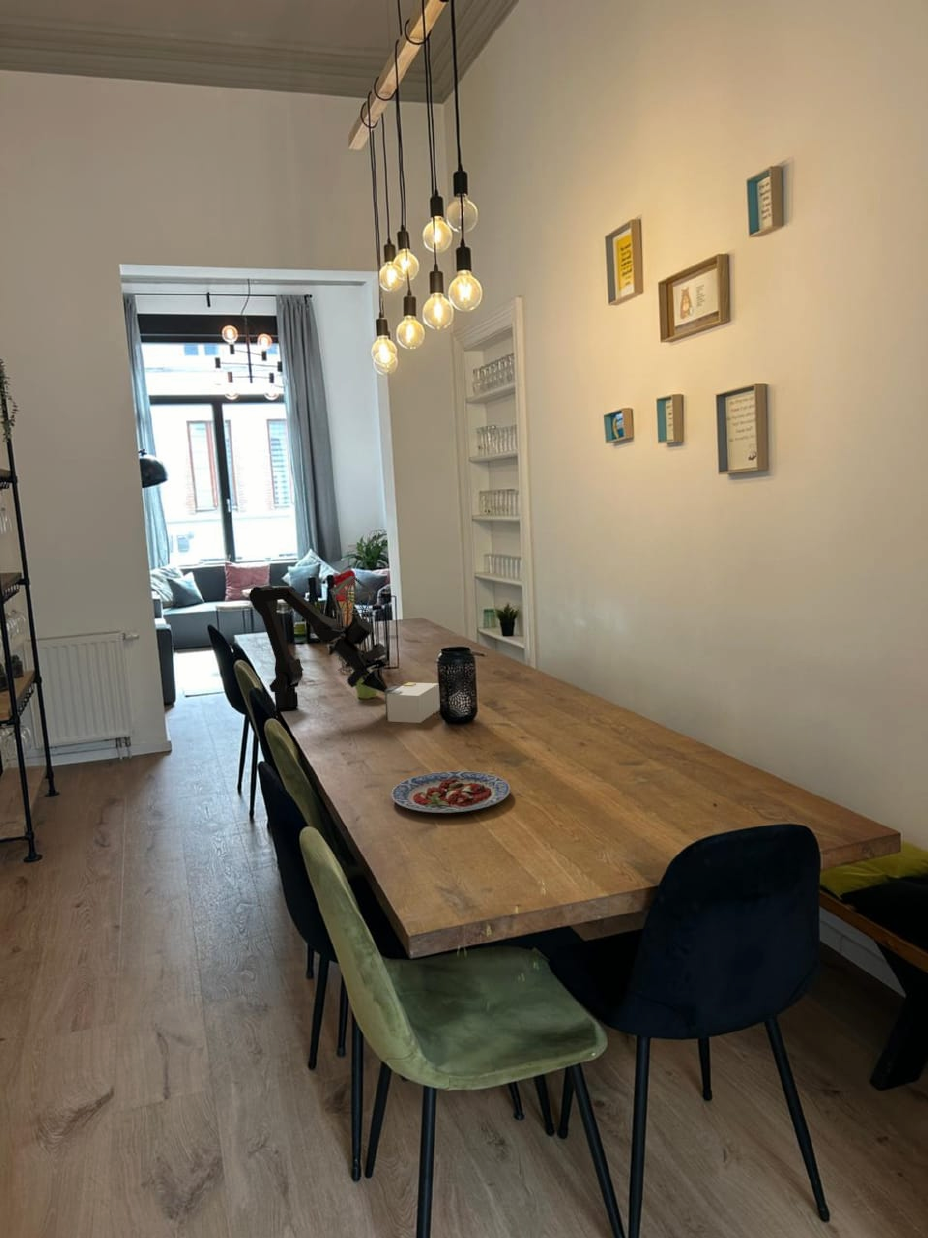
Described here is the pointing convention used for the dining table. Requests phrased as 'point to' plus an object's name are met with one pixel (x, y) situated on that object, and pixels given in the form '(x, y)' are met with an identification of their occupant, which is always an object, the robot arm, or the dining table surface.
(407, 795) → the ceramic plate
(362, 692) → the plant pot
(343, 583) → the geometric lantern
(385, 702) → the plug
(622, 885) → the dining table surface
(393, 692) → the port box
